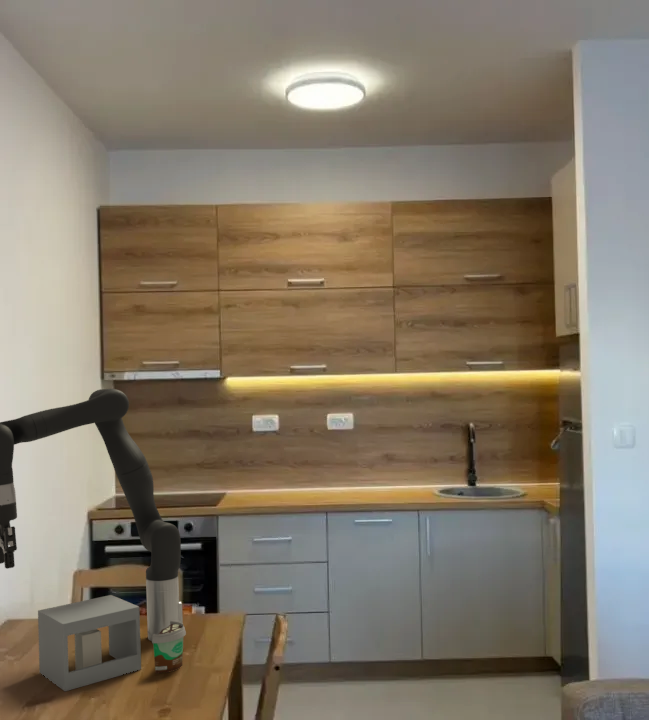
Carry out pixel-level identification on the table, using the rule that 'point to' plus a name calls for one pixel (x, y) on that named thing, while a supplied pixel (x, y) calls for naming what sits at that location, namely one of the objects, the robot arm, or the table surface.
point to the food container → (169, 647)
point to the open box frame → (88, 617)
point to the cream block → (88, 649)
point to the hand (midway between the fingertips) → (4, 565)
